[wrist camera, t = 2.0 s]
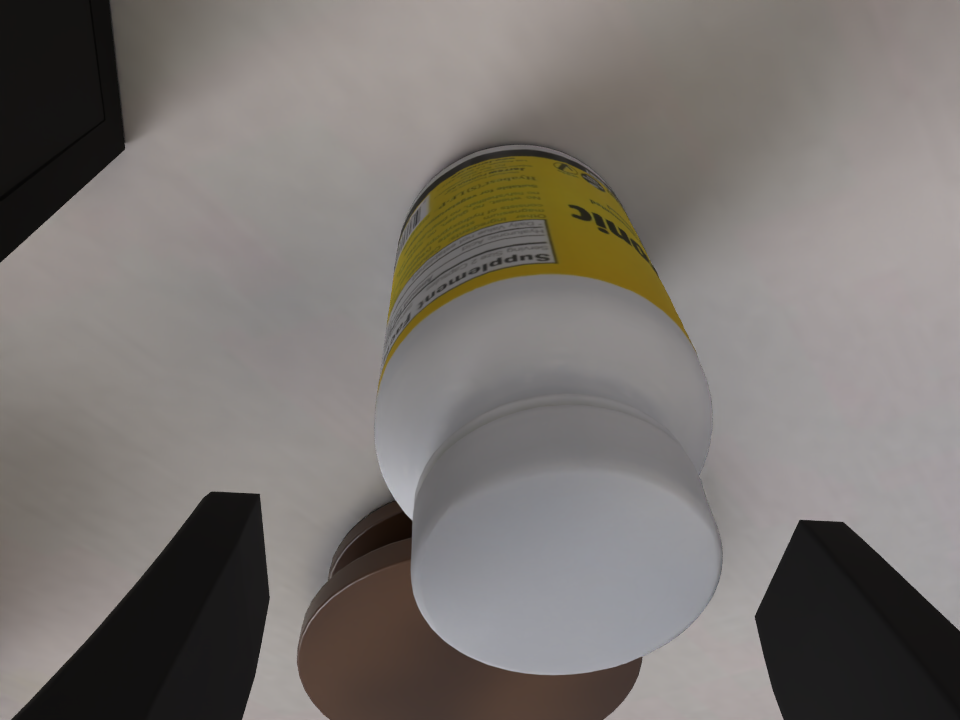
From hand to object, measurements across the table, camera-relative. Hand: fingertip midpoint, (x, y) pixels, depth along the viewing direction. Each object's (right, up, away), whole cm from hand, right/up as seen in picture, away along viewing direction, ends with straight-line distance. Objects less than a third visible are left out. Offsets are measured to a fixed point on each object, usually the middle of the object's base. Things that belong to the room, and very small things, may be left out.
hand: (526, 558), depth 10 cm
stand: (-1, -5, +14) cm, 15 cm away
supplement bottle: (0, +5, +8) cm, 9 cm away
